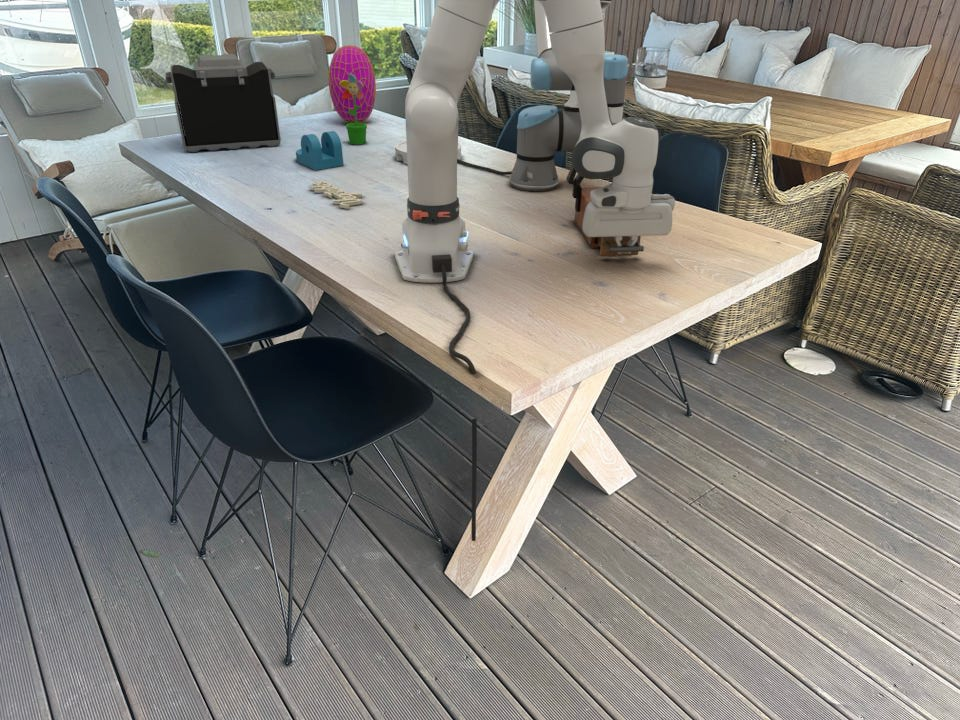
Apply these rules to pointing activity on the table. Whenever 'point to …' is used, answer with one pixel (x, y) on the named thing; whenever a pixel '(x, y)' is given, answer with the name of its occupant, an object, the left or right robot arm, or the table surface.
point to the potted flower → (354, 129)
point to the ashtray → (402, 152)
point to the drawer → (611, 248)
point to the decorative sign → (337, 194)
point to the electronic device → (225, 104)
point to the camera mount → (320, 151)
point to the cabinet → (580, 215)
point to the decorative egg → (361, 68)
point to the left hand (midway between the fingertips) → (623, 253)
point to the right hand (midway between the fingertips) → (597, 209)
